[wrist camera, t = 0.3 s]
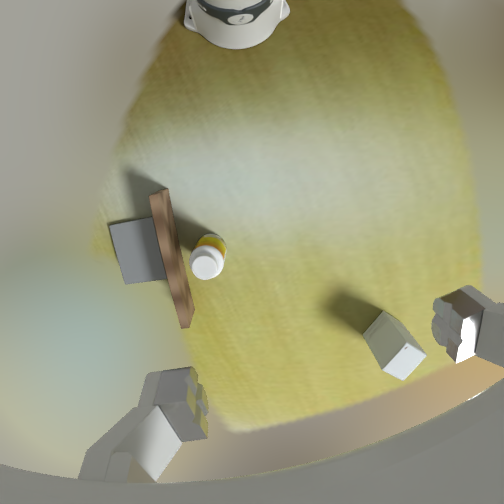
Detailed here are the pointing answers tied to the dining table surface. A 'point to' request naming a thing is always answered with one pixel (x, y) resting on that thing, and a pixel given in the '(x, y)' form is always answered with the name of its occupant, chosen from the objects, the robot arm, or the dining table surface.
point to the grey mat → (138, 251)
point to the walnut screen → (172, 256)
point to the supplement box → (393, 346)
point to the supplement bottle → (208, 256)
